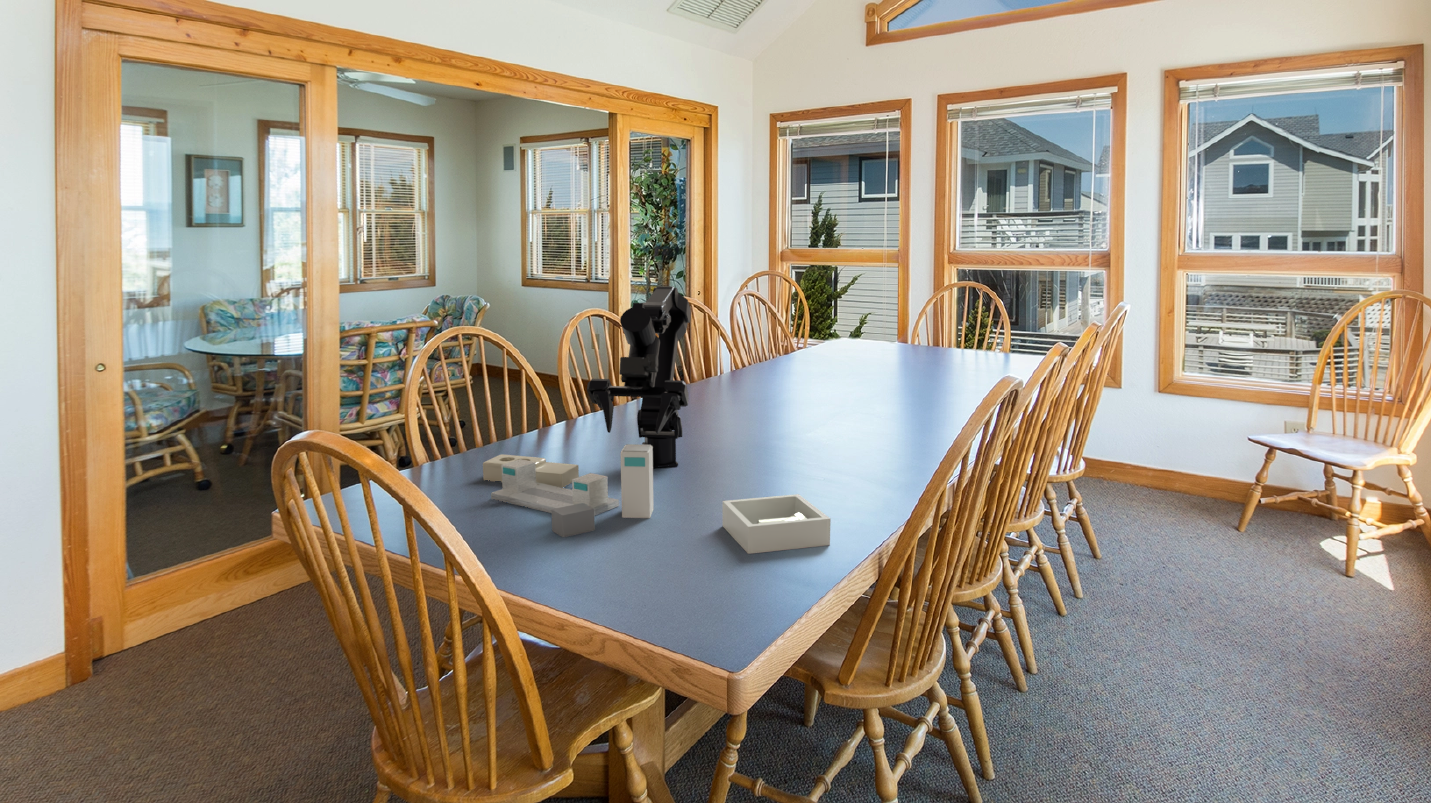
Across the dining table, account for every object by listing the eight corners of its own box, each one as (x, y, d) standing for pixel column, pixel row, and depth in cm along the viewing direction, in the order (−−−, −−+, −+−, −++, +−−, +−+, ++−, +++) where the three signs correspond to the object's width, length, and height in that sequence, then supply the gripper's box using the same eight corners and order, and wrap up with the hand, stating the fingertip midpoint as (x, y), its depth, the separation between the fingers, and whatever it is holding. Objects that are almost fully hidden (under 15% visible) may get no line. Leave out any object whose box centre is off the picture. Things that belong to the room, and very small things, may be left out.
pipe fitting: (747, 542, 151) (780, 548, 147) (746, 520, 151) (779, 525, 146) (776, 530, 157) (808, 535, 153) (775, 508, 157) (807, 513, 152)
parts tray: (798, 518, 162) (798, 494, 161) (829, 545, 148) (830, 518, 148) (722, 525, 158) (722, 500, 157) (748, 553, 145) (748, 526, 144)
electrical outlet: (561, 469, 179) (481, 462, 185) (562, 489, 180) (482, 481, 186) (578, 460, 186) (500, 453, 192) (578, 479, 187) (501, 472, 192)
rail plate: (529, 486, 181) (527, 456, 180) (619, 505, 169) (618, 473, 168) (491, 498, 173) (489, 467, 172) (582, 520, 161) (581, 486, 159)
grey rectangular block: (583, 524, 159) (582, 502, 158) (594, 531, 156) (594, 508, 155) (552, 531, 155) (551, 509, 155) (563, 538, 152) (562, 515, 151)
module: (626, 508, 167) (625, 443, 165) (653, 509, 167) (652, 444, 164) (621, 517, 162) (620, 451, 160) (649, 518, 162) (648, 451, 159)
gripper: (586, 337, 171) (573, 410, 164) (684, 338, 169) (676, 413, 161) (599, 367, 181) (587, 438, 173) (692, 369, 178) (684, 441, 171)
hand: (632, 432), depth 170 cm, fingers open, 9 cm apart
